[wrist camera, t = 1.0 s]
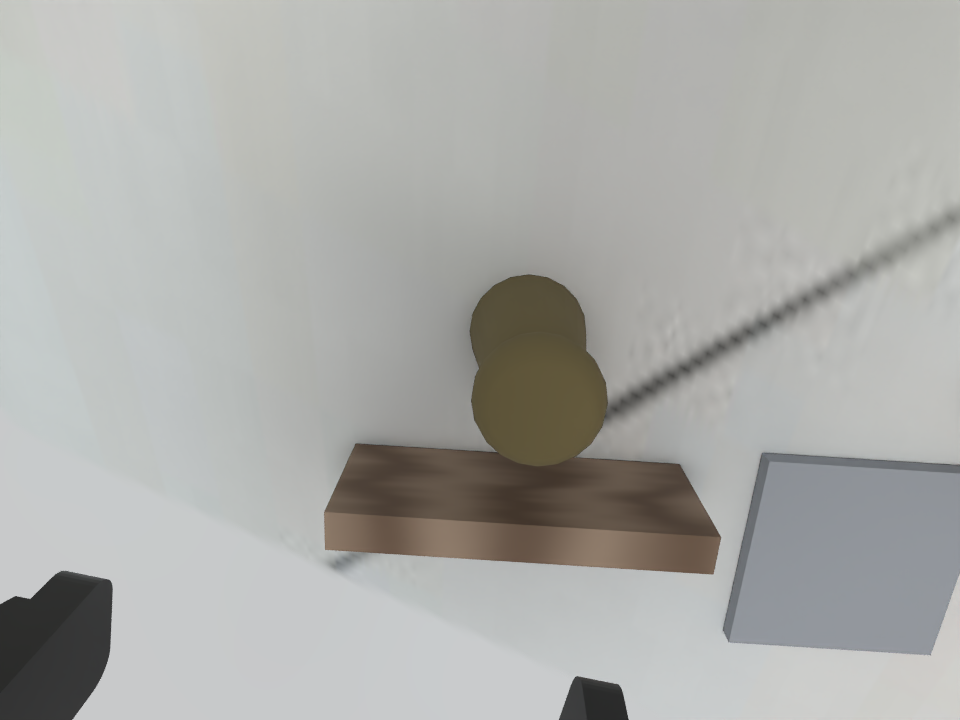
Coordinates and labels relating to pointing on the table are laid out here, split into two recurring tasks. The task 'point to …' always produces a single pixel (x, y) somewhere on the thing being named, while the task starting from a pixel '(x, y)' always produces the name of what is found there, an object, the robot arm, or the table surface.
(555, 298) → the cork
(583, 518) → the wooden block
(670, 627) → the table surface
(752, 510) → the mat
